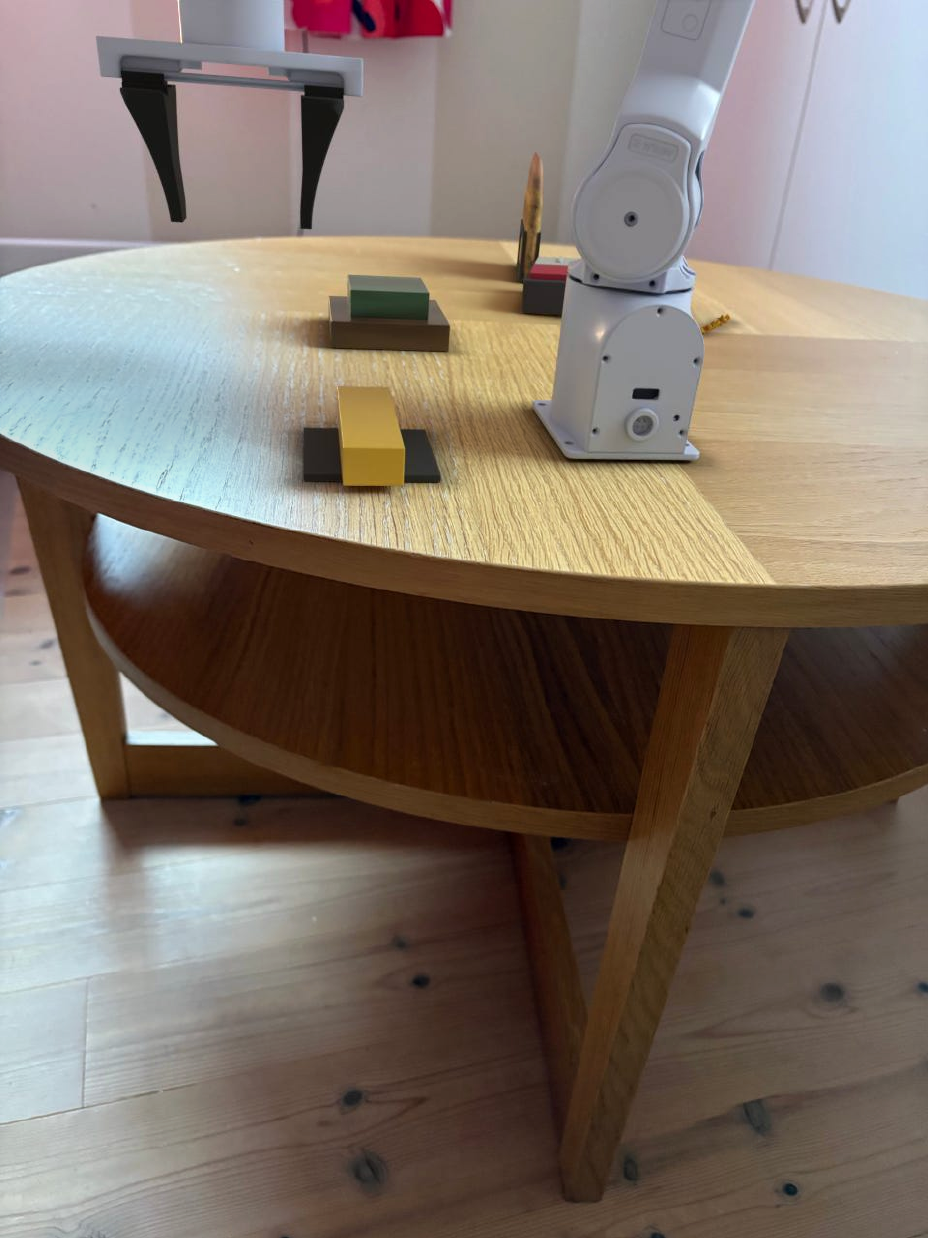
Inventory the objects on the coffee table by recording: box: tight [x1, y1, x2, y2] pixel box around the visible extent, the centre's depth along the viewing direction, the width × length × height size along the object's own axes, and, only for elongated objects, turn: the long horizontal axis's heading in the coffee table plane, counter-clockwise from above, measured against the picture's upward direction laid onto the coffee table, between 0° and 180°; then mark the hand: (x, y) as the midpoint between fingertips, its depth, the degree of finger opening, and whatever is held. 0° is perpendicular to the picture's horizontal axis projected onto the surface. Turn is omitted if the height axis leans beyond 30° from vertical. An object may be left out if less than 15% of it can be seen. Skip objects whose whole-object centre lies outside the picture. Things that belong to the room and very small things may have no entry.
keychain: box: [699, 313, 732, 335], centre depth 82 cm, size 8×1×1 cm, turn 148°
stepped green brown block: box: [327, 274, 451, 352], centre depth 71 cm, size 9×9×4 cm
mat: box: [302, 427, 442, 483], centre depth 48 cm, size 7×7×1 cm
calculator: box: [521, 256, 581, 316], centre depth 85 cm, size 11×4×15 cm
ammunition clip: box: [516, 151, 544, 284], centre depth 97 cm, size 11×2×12 cm, turn 178°
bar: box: [336, 385, 405, 487], centre depth 48 cm, size 10×3×2 cm, turn 9°
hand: (243, 223), depth 55 cm, fingers open, 7 cm apart
